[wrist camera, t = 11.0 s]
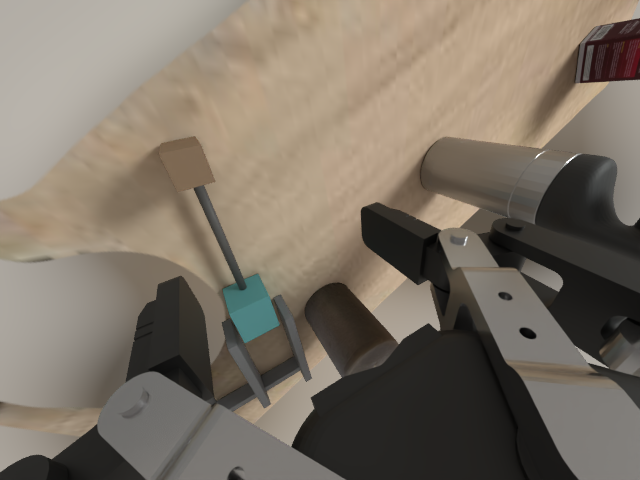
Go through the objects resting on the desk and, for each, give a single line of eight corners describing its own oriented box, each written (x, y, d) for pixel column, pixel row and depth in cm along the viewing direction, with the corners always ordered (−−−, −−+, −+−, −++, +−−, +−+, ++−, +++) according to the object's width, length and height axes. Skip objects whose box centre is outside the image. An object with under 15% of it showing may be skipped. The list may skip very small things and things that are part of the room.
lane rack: (280, 294, 38) (292, 315, 34) (300, 356, 48) (311, 378, 44) (161, 351, 32) (159, 384, 28) (212, 408, 42) (216, 438, 38)
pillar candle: (330, 274, 41) (389, 340, 30) (357, 293, 48) (415, 355, 36) (293, 315, 42) (338, 396, 30) (325, 329, 48) (372, 401, 37)
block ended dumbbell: (205, 133, 23) (214, 141, 19) (268, 302, 37) (282, 330, 32) (149, 145, 22) (143, 157, 17) (236, 317, 35) (246, 349, 31)
